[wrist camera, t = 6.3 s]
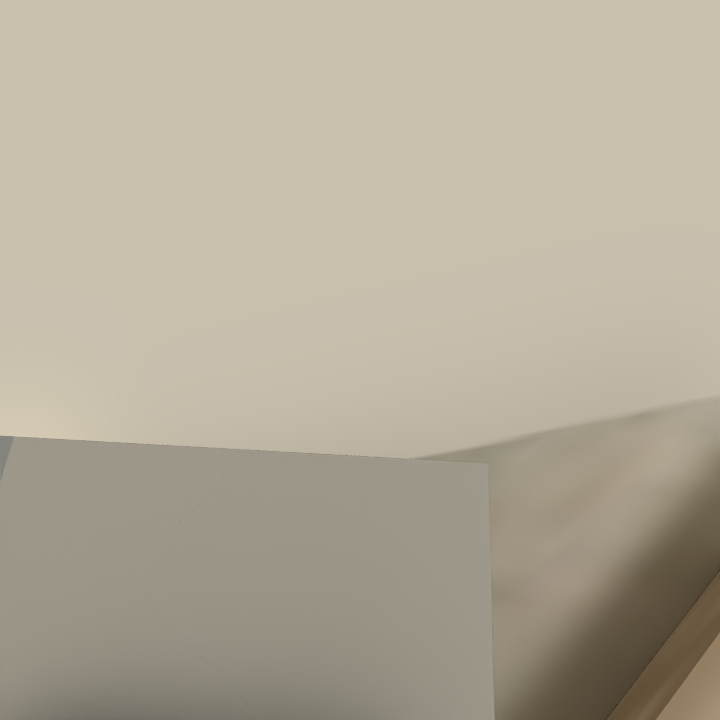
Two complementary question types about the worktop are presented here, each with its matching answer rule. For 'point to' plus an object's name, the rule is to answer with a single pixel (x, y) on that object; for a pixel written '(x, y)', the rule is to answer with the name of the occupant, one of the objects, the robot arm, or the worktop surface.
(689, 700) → the shallow cream tray
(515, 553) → the worktop surface
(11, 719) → the block
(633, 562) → the worktop surface
